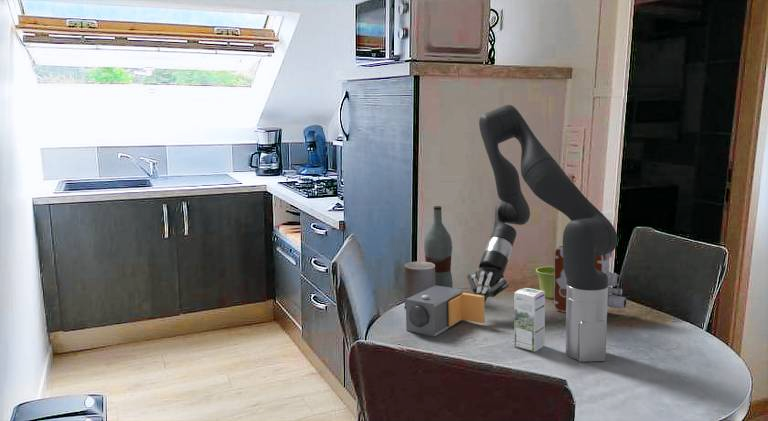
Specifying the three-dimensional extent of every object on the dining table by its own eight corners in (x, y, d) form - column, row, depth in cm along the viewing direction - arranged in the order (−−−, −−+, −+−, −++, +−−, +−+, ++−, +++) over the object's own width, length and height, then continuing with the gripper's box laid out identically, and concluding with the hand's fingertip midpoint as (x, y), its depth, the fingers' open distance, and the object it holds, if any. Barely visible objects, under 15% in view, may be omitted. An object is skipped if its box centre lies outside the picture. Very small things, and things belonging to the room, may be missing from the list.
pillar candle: (398, 308, 176) (397, 261, 174) (418, 300, 183) (417, 255, 181) (422, 315, 170) (421, 266, 167) (442, 307, 177) (441, 260, 174)
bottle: (419, 296, 188) (417, 207, 184) (435, 290, 195) (433, 203, 191) (442, 301, 182) (441, 209, 178) (458, 294, 189) (457, 205, 185)
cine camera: (619, 323, 157) (621, 253, 155) (551, 311, 169) (552, 246, 166) (628, 314, 165) (630, 247, 162) (562, 303, 176) (563, 240, 173)
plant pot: (569, 300, 180) (569, 273, 179) (539, 300, 180) (540, 274, 179) (560, 291, 189) (561, 266, 188) (532, 292, 189) (532, 267, 188)
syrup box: (545, 345, 143) (546, 290, 141) (533, 353, 139) (534, 295, 137) (525, 340, 147) (525, 286, 145) (513, 347, 143) (513, 291, 141)
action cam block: (435, 314, 170) (435, 282, 168) (463, 319, 164) (462, 286, 163) (404, 331, 156) (403, 297, 154) (433, 338, 151) (432, 302, 149)
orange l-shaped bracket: (462, 317, 163) (462, 292, 162) (484, 321, 159) (484, 295, 158) (448, 325, 157) (448, 299, 156) (471, 330, 153) (471, 303, 152)
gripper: (520, 265, 167) (503, 317, 159) (479, 260, 175) (461, 309, 167) (513, 251, 162) (495, 304, 154) (472, 247, 170) (452, 296, 162)
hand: (477, 307), depth 160 cm, fingers closed
